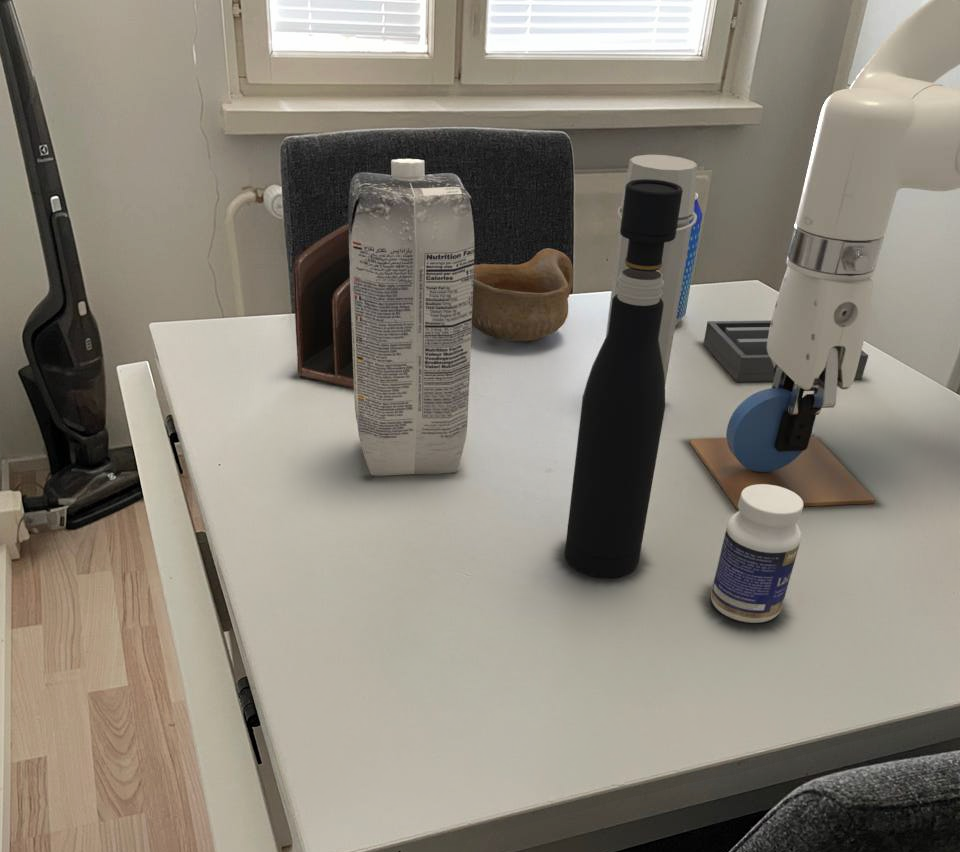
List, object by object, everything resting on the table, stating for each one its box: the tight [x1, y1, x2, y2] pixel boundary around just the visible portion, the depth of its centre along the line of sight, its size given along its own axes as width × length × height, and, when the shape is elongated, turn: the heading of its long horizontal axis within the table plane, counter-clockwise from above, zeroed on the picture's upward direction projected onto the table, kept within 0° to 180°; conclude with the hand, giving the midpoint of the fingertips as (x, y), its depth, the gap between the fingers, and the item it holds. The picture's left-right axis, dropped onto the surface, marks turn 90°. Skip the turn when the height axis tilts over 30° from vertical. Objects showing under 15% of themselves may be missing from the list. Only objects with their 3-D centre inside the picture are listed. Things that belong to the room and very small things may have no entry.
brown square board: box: [688, 434, 876, 510], centre depth 99 cm, size 14×14×1 cm
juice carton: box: [347, 158, 475, 477], centre depth 90 cm, size 9×10×27 cm
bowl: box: [472, 247, 574, 343], centre depth 125 cm, size 18×14×10 cm
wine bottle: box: [564, 179, 683, 579], centre depth 76 cm, size 6×6×30 cm
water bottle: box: [605, 154, 698, 385], centre depth 103 cm, size 9×8×25 cm
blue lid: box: [725, 387, 814, 472], centre depth 97 cm, size 8×2×8 cm, turn 99°
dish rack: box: [703, 319, 869, 383], centre depth 122 cm, size 16×12×4 cm
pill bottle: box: [710, 484, 804, 624], centre depth 78 cm, size 6×6×10 cm
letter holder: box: [292, 223, 354, 389], centre depth 114 cm, size 10×20×14 cm, turn 158°
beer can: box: [675, 191, 703, 327], centre depth 128 cm, size 8×8×16 cm
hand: (784, 442), depth 98 cm, fingers closed on blue lid, 2 cm apart
